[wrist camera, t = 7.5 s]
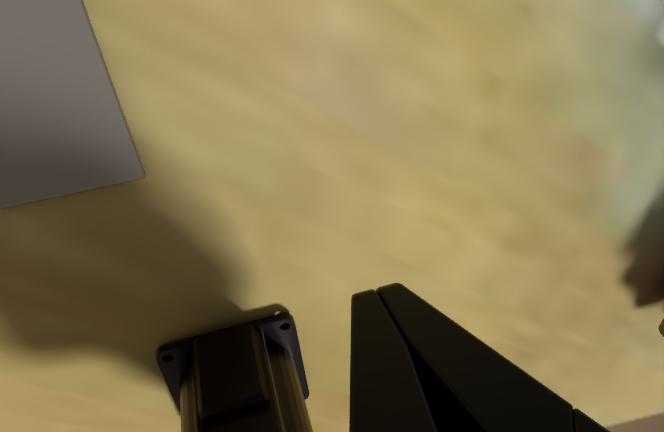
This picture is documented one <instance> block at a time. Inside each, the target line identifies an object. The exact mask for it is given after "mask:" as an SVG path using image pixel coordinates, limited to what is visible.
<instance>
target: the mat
mask: <svg viewBox="0 0 664 432" xmlns="http://www.w3.org/2000/svg"><path fill="white" fill-rule="evenodd" d="M142 178H145V172H144V169H143V166H142V163H141V161H140V158H139V155H138V152H137V150H136V147H135V144H134V141H133V139H132V136H131V133H130V130H129V127H128V125H127V122H126V119H125V116H124V114H123V111H122V108H121V105H120V103H119V100H118V97H117V94H116V92H115V89H114V86H113V83H112V81H111V78H110V75H109V72H108V69H107V67H106V64H105V61H104V58H103V56H102V53H101V50H100V47H99V45H98V42H97V39H96V36H95V34H94V31H93V28H92V25H91V23H90V20H89V17H88V14H87V11H86V9H85V6H84V3H83V0H0V209H3V208H8V207H12V206H17V205H22V204H26V203H31V202H35V201H40V200H45V199H49V198H54V197H59V196H63V195H68V194H72V193H77V192H82V191H86V190H91V189H96V188H100V187H105V186H109V185H114V184H119V183H123V182H128V181H133V180H137V179H142Z"/></svg>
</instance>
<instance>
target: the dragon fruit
mask: <svg viewBox="0 0 664 432" xmlns="http://www.w3.org/2000/svg"><path fill="white" fill-rule="evenodd" d="M659 331H660V333H661V334H662V336H663V337H664V319H663V320H662V322H661V324H660V325H659Z"/></svg>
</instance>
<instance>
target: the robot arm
mask: <svg viewBox="0 0 664 432" xmlns="http://www.w3.org/2000/svg"><path fill="white" fill-rule="evenodd" d="M283 323H286V324H283ZM281 324H283V325H281ZM168 354H170V355H168ZM156 360H157V363H158V365H159V368H160V370H161V372H162V374H163V376H164V378H165V380H166V383H167V385H168V387H169V389H170V391H171V393H172V396H173V398H174V400H175V402H176V404H177V406H178V409H179V411H180V413H181V432H313V430H312V426H311V422H310V419H309V415H308V411H307V407H306V403H305V399H307V398H308V396H309V390H308V385H307V380H306V375H305V370H304V365H303V361H302V356H301V351H300V346H299V341H298V336H297V331H296V326H295V322H294V319H293V316H292V315H290V314H288V313H282V314H278V315H274V316H271V317H267V318H263V319H259V320H256V321H252V322H248V323H244V324H240V325H237V326H233V327H229V328H225V329H222V330H218V331H214V332H210V333H206V334H203V335H199V336H195V337H191V338H188V339H184V340H180V341H176V342H172V343H169V344H165V345H162V346H160V347H159V348H158V349H157V351H156ZM349 432H610V431H609V430H607V429H606V428H604V427H603V426H601V425H600V424H598V423H597V422H595V421H594V420H593V419H591V418H590V417H588V416H587V415H586V414H584V413H583V412H581V411H580V410H579V409H573V407H572V405H571V404H570V403H568V402H567V401H566V400H564V399H563V398H561V397H560V396H559V395H557V394H556V393H554V392H553V391H551V390H550V389H549V388H547V387H546V386H544V385H543V384H542V383H540V382H539V381H537V380H536V379H535V378H533V377H532V376H530V375H529V374H527V373H526V372H525V371H523V370H522V369H520V368H519V367H518V366H516V365H515V364H513V363H512V362H511V361H509V360H508V359H506V358H505V357H504V356H502V355H501V354H499V353H498V352H496V351H495V350H494V349H492V348H491V347H489V346H488V345H487V344H485V343H484V342H482V341H481V340H480V339H478V338H477V337H475V336H474V335H472V334H471V333H470V332H468V331H467V330H465V329H464V328H463V327H461V326H460V325H458V324H457V323H456V322H454V321H453V320H451V319H450V318H449V317H447V316H446V315H444V314H443V313H441V312H440V311H439V310H437V309H436V308H434V307H433V306H432V305H430V304H429V303H427V302H426V301H425V300H423V299H422V298H420V297H419V296H418V295H416V294H415V293H413V292H412V291H410V290H409V289H408V288H406V287H405V286H403V285H402V284H400V283H393V284H389V285H385V286H382V287H379V288H377V289H376V291H375V290H373V289H370V290H367V291H363V292H359V293H355V294H353V295H352V299H351V360H350V427H349Z"/></svg>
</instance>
